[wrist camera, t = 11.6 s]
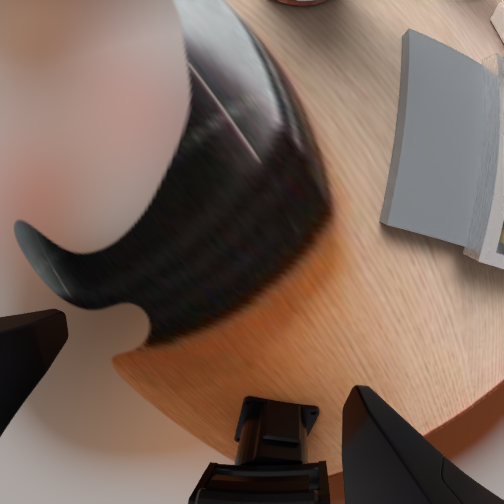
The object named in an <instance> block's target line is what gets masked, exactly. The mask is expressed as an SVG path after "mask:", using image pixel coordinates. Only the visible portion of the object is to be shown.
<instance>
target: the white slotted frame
mask: <svg viewBox="0 0 504 504" xmlns="http://www.w3.org/2000/svg"><path fill="white" fill-rule="evenodd" d="M482 64H483V79H484V130H483V145H482V156H481V165H480V173H479V180H478V187H477V193H476V199H475V204H474V209H473V214H472V219H471V223H470V228H469V232H468V236H467V240H466V244H465V247H464V251H463V254H465V255H467V256H469V257H471V258H472V259H474V260H476V261H478V262H481V263H485V264H488V265H491V266H495V267H498V268H501V269H504V254H503V253H500V252H497V247H498V243H499V239H500V235H501V231H502V226H503V221H504V58H503V57H501V56H500V55H498V54H497V53H495V54H493V55H491V56H489V57H487V58H485V59H483V60H482Z"/></svg>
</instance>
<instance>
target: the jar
mask: <svg viewBox="0 0 504 504" xmlns="http://www.w3.org/2000/svg"><path fill="white" fill-rule="evenodd" d="M490 21H491V22H492V24H493V26H494V27H495V29H496V31H497V32H498V34H499V36H500V38H501V40H502V41H503V43H504V0H503V1H502V2H500V3H499V4H498V6H497V7H496V9H495V11H494V13H493V14H492V16H491V18H490Z"/></svg>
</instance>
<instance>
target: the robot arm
mask: <svg viewBox="0 0 504 504" xmlns="http://www.w3.org/2000/svg"><path fill="white" fill-rule="evenodd" d="M67 339H68V328H67V321H66V315H65V313H64V312H62V311H60V310H57V309H48V310H43V311H37V312H31V313H25V314H19V315H12V316H6V317H0V437H1V435H2V433H3V432H4V430H5V429H6V427H7V426H8V425H9V423H10V421H11V420H12V419H13V417H14V416H15V414H16V413H17V411H18V410H19V409H20V407H21V406H22V404H23V403H24V402H25V400H26V399H27V397H28V396H29V395H30V394H31V392H32V391H33V389H34V388H35V387H36V385H37V384H38V383H39V382H40V380H41V379H42V378H43V376H44V375H45V374H46V372H47V371H48V369H49V368H50V366H51V364H52V363H53V361H54V360H55V358H56V356H57V355H58V354H59V352H60V350H61V349H62V347H63V346H64V344H65V343H66V341H67ZM248 401H250V402H248ZM312 411H315V412H312ZM318 415H319V408H318V407H316V406H309V405H301V404H294V403H287V402H280V401H274V400H268V399H262V398H257V397H252V396H247V397H245V398H244V401H243V406H242V410H241V414H240V418H239V422H238V426H237V430H236V434H235V441H236V442H239V446H238V450H237V455H236V460H235V465H226V464H218V463H212V462H211V463H210V464H209V465H208V467H207V469H206V470H205V472H204V474H203V475H202V477H201V479H200V480H199V482H198V484H197V486H196V488H195V489H194V491H193V493H192V494H191V496H190V498H189V502H188V504H330V493H329V483H328V474H327V466H326V461H319V462H318V463H308V453H307V437H308V435H309V433H310V431H311V429H312V427H313V425H314V423H315V421H316V419H317V417H318ZM342 465H343V476H344V491H345V504H504V500H502V499H501V498H499V497H498V496H496V495H495V494H493V493H492V492H490V491H489V490H487V489H486V488H485V487H483V486H482V485H480V484H479V483H477V482H476V481H475V480H473V479H472V478H471V477H469V476H468V475H466V474H465V473H464V472H463V471H461V470H460V469H459V468H458V467H457V466H456V465H454V464H453V463H452V462H451V461H450V460H449V459H448V458H446V457H443V454H442V453H441V452H440V451H439V450H437V449H436V448H435V447H434V446H433V445H432V444H431V443H430V442H429V441H427V440H426V439H425V438H424V437H423V436H422V435H421V434H420V433H419V432H418V431H417V430H415V429H414V428H413V427H412V426H411V425H410V424H409V423H408V422H407V421H406V420H405V419H403V418H402V417H401V416H400V415H399V414H398V413H397V412H396V411H395V410H394V409H393V408H392V407H390V406H389V405H388V404H387V403H386V402H385V401H384V400H383V399H382V398H381V397H380V396H379V395H378V394H376V393H375V392H374V391H373V390H372V389H371V388H370V387H369V386H364V385H355V386H354V387H353V388H352V390H351V392H350V394H349V396H348V398H347V400H346V402H345V404H344V407H343V417H342Z"/></svg>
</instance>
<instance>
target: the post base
mask: <svg viewBox="0 0 504 504" xmlns="http://www.w3.org/2000/svg"><path fill="white" fill-rule="evenodd" d="M483 130H484V79H483V65H481V64H479V63H478V62H476V61H474V60H473V59H471V58H469V57H468V56H466V55H464V54H462V53H460V52H459V51H457V50H455V49H453V48H451V47H449V46H447V45H445V44H443V43H441V42H439V41H437V40H435V39H433V38H430V37H428V36H426V35H424V34H421V33H419V32H417V31H414V30H412V29H408V30H407V32H406V33H405V34H404V35H403V36H402V62H401V82H400V95H399V106H398V116H397V125H396V133H395V140H394V147H393V154H392V160H391V166H390V172H389V178H388V183H387V188H386V193H385V198H384V203H383V208H382V212H381V217H380V222H382V223H384V224H386V225H389V226H393V227H396V228H400V229H404V230H408V231H412V232H415V233H419V234H423V235H426V236H430V237H433V238H437V239H440V240H444V241H447V242H451V243H454V244H457V245H461V246H464V247H465V244H466V240H467V236H468V232H469V228H470V223H471V219H472V214H473V209H474V204H475V199H476V193H477V187H478V180H479V173H480V165H481V156H482V145H483ZM497 252H500V253H503V254H504V221H503V226H502V231H501V235H500V239H499V243H498V247H497Z"/></svg>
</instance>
